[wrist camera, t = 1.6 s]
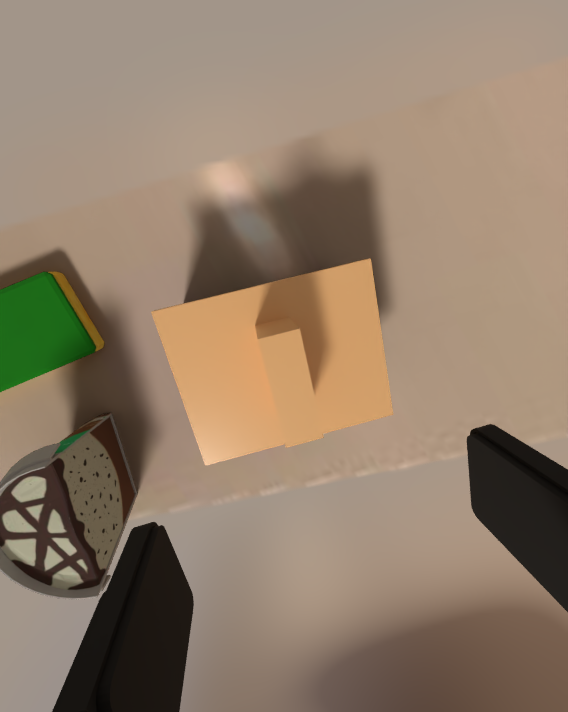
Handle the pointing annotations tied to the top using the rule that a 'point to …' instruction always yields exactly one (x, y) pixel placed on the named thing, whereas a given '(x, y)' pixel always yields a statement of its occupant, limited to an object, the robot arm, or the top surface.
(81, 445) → the food container
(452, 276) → the top surface
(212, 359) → the lid
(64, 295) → the dish sponge
